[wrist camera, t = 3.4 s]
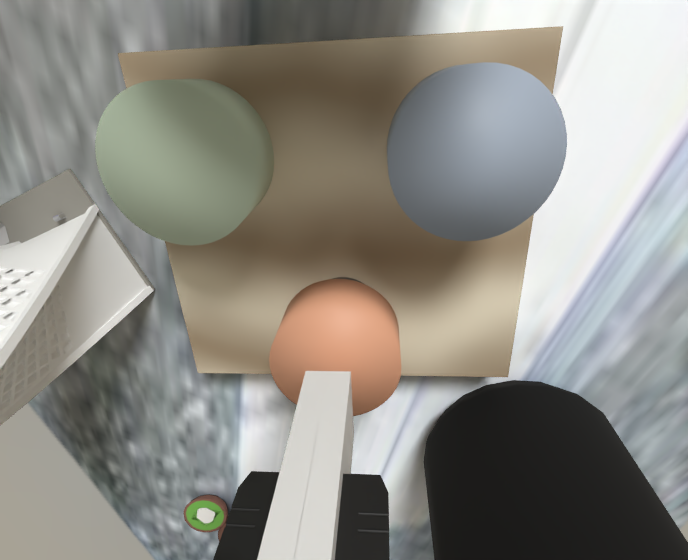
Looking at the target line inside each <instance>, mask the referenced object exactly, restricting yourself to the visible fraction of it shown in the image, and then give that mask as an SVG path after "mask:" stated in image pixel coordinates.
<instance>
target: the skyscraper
mask: <svg viewBox="0 0 688 560" xmlns="http://www.w3.org/2000/svg"><path fill="white" fill-rule="evenodd" d="M154 290H155V288H154V287H153V285H152V284H151V282H150V281H149V280H148V278H147V277H146V275H145V274H144V272H143V271H142V270H141V268H140V267H139V265H138V264H137V263H136V261H135V260H134V258H133V257H132V255H131V254H130V253H129V251H128V250H127V248H126V247H125V245H124V244H123V243H122V241H121V240H120V238H119V237H118V236H117V234H116V233H115V231H114V230H113V228H112V227H111V226H110V224H109V223H108V221H107V220H106V218H105V217H104V216H103V214H102V213H101V211H100V210H99V209H98V207H97V206H96V204H95V203H94V201H93V200H92V199H91V197H90V196H89V194H88V193H87V191H86V190H85V189H84V187H83V186H82V184H81V183H80V182H79V180H78V179H77V177H76V176H75V174H74V173H73V172H72V170H71V169H68V170H66V171H64V172H63V173H61V174H59V175H57V176H55V177H53V178H51V179H50V180H48V181H46V182H44V183H42V184H40V185H38V186H37V187H35V188H33V189H31V190H29V191H27V192H25V193H24V194H22V195H20V196H18V197H16V198H14V199H12V200H10V201H9V202H7V203H5V204H3V205H1V206H0V425H2V424H3V423H4V422H5V421H6V420H7V419H9V418H10V417H11V416H12V415H14V414H15V413H16V412H17V411H18V410H19V409H21V408H22V407H23V406H24V405H26V404H27V403H28V402H29V401H30V400H31V399H33V398H34V397H35V396H36V395H37V394H38V393H39V392H41V391H42V390H43V389H44V388H45V387H46V386H47V385H49V384H50V383H51V382H52V381H53V380H54V379H56V378H57V377H58V376H59V375H60V374H61V373H62V372H64V371H65V370H66V369H67V368H68V367H69V366H71V365H72V364H73V363H74V362H75V361H76V360H77V359H78V358H80V357H81V356H82V355H83V354H84V353H85V352H86V351H87V350H88V349H90V348H91V347H92V346H93V345H94V344H95V343H96V342H97V341H99V340H100V339H101V338H102V337H103V336H104V335H105V334H106V333H107V332H109V331H110V330H111V329H112V328H113V327H114V326H115V325H116V324H117V323H119V322H120V321H121V320H122V319H123V318H124V317H125V316H126V315H128V314H129V313H130V312H131V311H132V310H133V309H134V308H135V307H136V306H137V305H138V304H140V303H141V302H142V301H143V300H144V299H145V298H146V297H147V296H148V295H149V294H151V293H152V292H153V291H154Z"/></svg>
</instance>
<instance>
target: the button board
mask: <svg viewBox="0 0 688 560" xmlns="http://www.w3.org/2000/svg"><path fill="white" fill-rule="evenodd" d="M562 31H563V26H561V27H545V28H528V29H512V30H495V31H479V32H462V33H446V34H429V35H413V36H396V37H379V38H363V39H346V40H330V41H313V42H297V43H280V44H264V45H247V46H231V47H214V48H198V49H181V50H164V51H148V52H131V53H118V56H119V60H120V64H121V68H122V72H123V76H124V80H125V84H126V88H129V87H131V86H133V85H135V84H138V83H141V82H145V81H152V80H172V79H204V80H210V81H213V82H217V83H220V84H222V85H224V86H226V87H228V88H230V89H232V90H233V91H235V92H237V93H238V94H239V95H241V96H242V97H243V98H244V99H246V100H247V101H248V102H249V103H250V105H251V106H252V107H253V108H254V109H255V110H256V112H257V113H258V114H259V116H260V117H261V119H262V121H263V122H264V124H265V126H266V128H267V130H268V133H269V135H270V139H271V142H272V146H273V152H274V172H273V177H272V181H271V184H270V187H269V189H268V191H267V193H266V195H265V196H264V198H263V199H262V200H261V202H260V203H259V204H258V205H257V206H256V207H255V208H254V209H253V211H252V212H251V213H250V214H249V215H248V216H247V217H246V218H245V219H244V220H243V221H242V222H241V223H240V224H239V225H238V227H237V228H236V229H235V230H233V231H232V232H231V233H230V234H228V235H227V236H225V237H223V238H221V239H219V240H217V241H214V242H212V243H208V244H203V245H193V246H191V245H179V244H173V243H170V242H167V241H165V243H166V247H167V251H168V255H169V259H170V263H171V267H172V271H173V275H174V279H175V283H176V287H177V291H178V295H179V299H180V303H181V307H182V311H183V315H184V319H185V323H186V327H187V331H188V335H189V339H190V343H191V347H192V351H193V355H194V359H195V363H196V367H197V371H198V373H245V374H271V370H270V364H269V356H270V350H271V346H272V343H273V341H274V339H275V336H276V334H277V331H278V329H279V326H280V324H281V321H282V319H283V316H284V314H285V311H286V309H287V306H288V305H289V303H290V301H291V300H292V299H293V298H294V296H295V295H296V294H297V293H299V292H300V291H301V290H302V289H304V288H305V287H307V286H309V285H311V284H313V283H316V282H319V281H323V280H328V279H348V280H353V281H357V282H360V283H363V284H365V285H367V286H369V287H371V288H373V289H375V290H376V291H377V292H379V293H380V294H381V295H382V296H383V297H384V298H385V299H386V300H387V301H388V302H389V303H390V305H391V306H392V308H393V310H394V312H395V314H396V317H397V320H398V325H399V339H400V354H401V376H469V377H508V373H509V367H510V361H511V354H512V348H513V342H514V335H515V329H516V323H517V316H518V310H519V304H520V297H521V291H522V285H523V278H524V272H525V265H526V259H527V253H528V246H529V240H530V234H531V227H532V221H533V215H534V214H533V215H532V216H531V217H529V218H528V219H527V220H525V221H524V222H523V223H521V224H520V225H518V226H517V227H515V228H513V229H512V230H510V231H508V232H505V233H503V234H501V235H498V236H495V237H492V238H488V239H483V240H477V241H456V240H450V239H445V238H442V237H439V236H436V235H434V234H431V233H429V232H427V231H426V230H424V229H422V228H421V227H419V226H418V225H417V224H416V223H414V222H413V221H412V220H411V219H410V218H409V217H408V216H407V215H406V214H405V212H404V211H403V210H402V208H401V207H400V205H399V204H398V202H397V200H396V198H395V196H394V193H393V190H392V187H391V184H390V179H389V174H388V161H387V138H388V133H389V128H390V125H391V122H392V119H393V117H394V114H395V112H396V110H397V108H398V107H399V105H400V104H401V102H402V100H403V99H404V98H405V97H406V95H407V94H408V93H409V92H410V91H411V90H412V89H413V88H414V87H415V86H416V85H417V84H418V83H420V82H421V81H422V80H423V79H425V78H426V77H428V76H430V75H431V74H433V73H435V72H437V71H440V70H442V69H444V68H448V67H451V66H455V65H463V64H472V63H483V62H488V63H501V64H507V65H511V66H514V67H517V68H520V69H522V70H524V71H526V72H528V73H530V74H531V75H533V76H534V77H536V78H537V79H538V80H540V81H541V82H542V83H543V84H544V85H545V86H546V87H547V88H548V89H549V91H550V92H551V93H552V94H553V88H554V81H555V75H556V69H557V62H558V56H559V50H560V43H561V37H562Z"/></svg>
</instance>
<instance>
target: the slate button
mask: <svg viewBox="0 0 688 560" xmlns="http://www.w3.org/2000/svg"><path fill="white" fill-rule="evenodd" d="M566 147H567V133H566V127H565V121H564V118H563V115H562V112H561V109H560V107H559V105H558V103H557V101H556V99H555V98H554V96H553V95H552V93H551V92H550V91H549V89H548V88H547V87H546V86H545V85H544V84H543V83H542V82H541V81H540V80H538V79H537V78H536V77H534V76H533V75H531V74H530V73H528V72H526V71H524V70H522V69H520V68H517V67H514V66H511V65H507V64H501V63H488V62H483V63H472V64H463V65H455V66H451V67H448V68H444V69H442V70H440V71H437V72H435V73H433V74H431V75H430V76H428V77H426V78H425V79H423V80H422V81H421V82H420V83H418V84H417V85H416V86H415V87H414V88H413V89H412V90H411V91H410V92H409V93H408V94H407V95H406V97H405V98H404V99H403V100H402V102H401V104H400V105H399V107H398V108H397V110H396V112H395V114H394V117H393V119H392V122H391V125H390V128H389V133H388V138H387V161H388V174H389V179H390V184H391V187H392V190H393V193H394V196H395V198H396V200H397V202H398V204H399V205H400V207H401V208H402V210H403V211H404V212H405V214H406V215H407V216H408V217H409V218H410V219H411V220H412V221H413V222H414V223H416V224H417V225H418V226H419V227H421V228H422V229H424V230H426V231H427V232H429V233H431V234H434V235H436V236H439V237H442V238H445V239H450V240H456V241H477V240H483V239H488V238H492V237H495V236H498V235H501V234H503V233H505V232H508V231H510V230H512V229H513V228H515V227H517V226H518V225H520V224H521V223H523V222H524V221H525V220H527V219H528V218H529V217H531V216H532V215H533V214H534V213H535V212H536V211H537V210H538V209H539V208H540V207H541V206H542V204H543V203H544V202H545V201H546V200H547V198H548V197H549V195H550V194H551V192H552V191H553V189H554V187H555V185H556V183H557V181H558V179H559V176H560V174H561V171H562V169H563V165H564V161H565V156H566Z"/></svg>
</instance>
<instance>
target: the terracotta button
mask: <svg viewBox="0 0 688 560" xmlns="http://www.w3.org/2000/svg"><path fill="white" fill-rule="evenodd" d="M269 364H270V370H271V374H272V376H273V379H274V381H275V383H276V385H277V386H278V388H279V389H280V390H281V392H282V393H283V394H284V395H285V396H286V397H287V398H288V399H290V400H291V401H292V402H293V403H295V404H296V405H297V403H298V399H299V395H300V391H301V387H302V383H303V379H304V375H305V372H306V371H351V386H352V406H353V416H356V415H361V414H364V413H367V412H369V411H371V410H373V409H375V408H377V407H379V406H380V405H382V404H383V403H384V402H385V401H386V400H388V398H389V397H390V396H391V395H392V394H393V392H394V391H395V389H396V387H397V385H398V383H399V380H400V376H401V354H400V339H399V325H398V320H397V317H396V314H395V312H394V310H393V308H392V306H391V305H390V303H389V302H388V301H387V300H386V299H385V298H384V297H383V296H382V295H381V294H380V293H379V292H377V291H376V290H375V289H373V288H371V287H369V286H367V285H365V284H363V283H360V282H357V281H353V280H348V279H328V280H323V281H319V282H316V283H313V284H311V285H309V286H307V287H305V288H304V289H302V290H301V291H300V292H299V293H297V294H296V295H295V296H294V298H293V299H292V300H291V301H290V303H289V305H288V306H287V309H286V311H285V314H284V316H283V319H282V321H281V324H280V326H279V329H278V331H277V334H276V336H275V339H274V341H273V343H272V346H271V350H270V356H269Z"/></svg>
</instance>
